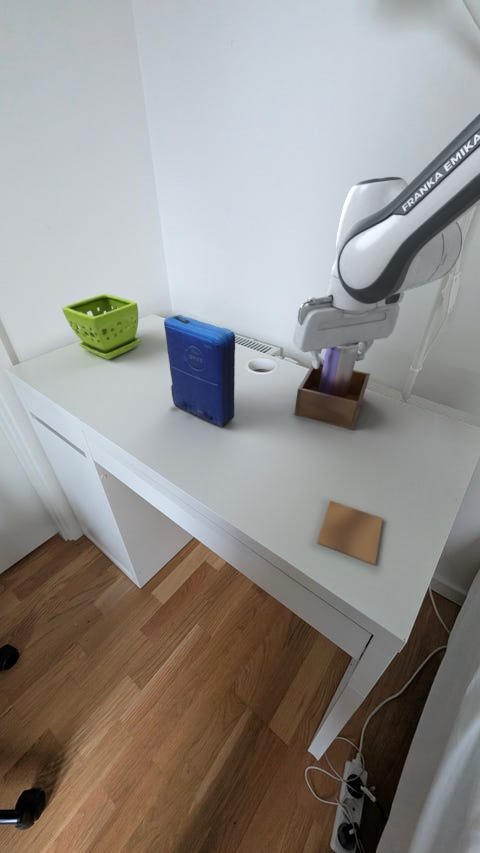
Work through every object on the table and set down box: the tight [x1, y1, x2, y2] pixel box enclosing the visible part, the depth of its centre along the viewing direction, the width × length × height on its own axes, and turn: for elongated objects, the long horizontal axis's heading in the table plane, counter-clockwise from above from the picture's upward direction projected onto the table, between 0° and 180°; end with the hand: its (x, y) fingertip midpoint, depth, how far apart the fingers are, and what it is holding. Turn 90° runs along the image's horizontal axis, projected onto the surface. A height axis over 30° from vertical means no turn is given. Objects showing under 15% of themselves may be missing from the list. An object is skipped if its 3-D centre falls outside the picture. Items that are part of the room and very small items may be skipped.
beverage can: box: [318, 342, 360, 399], centre depth 69 cm, size 6×6×15 cm
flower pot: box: [61, 293, 141, 360], centre depth 91 cm, size 14×14×13 cm
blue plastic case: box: [163, 314, 236, 428], centre depth 66 cm, size 14×5×20 cm, turn 55°
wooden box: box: [294, 365, 371, 431], centre depth 72 cm, size 12×12×6 cm
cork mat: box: [316, 500, 383, 566], centre depth 50 cm, size 8×8×1 cm
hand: (337, 363), depth 67 cm, fingers open, 8 cm apart
